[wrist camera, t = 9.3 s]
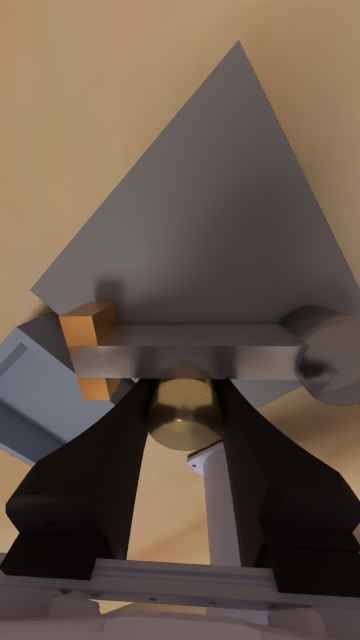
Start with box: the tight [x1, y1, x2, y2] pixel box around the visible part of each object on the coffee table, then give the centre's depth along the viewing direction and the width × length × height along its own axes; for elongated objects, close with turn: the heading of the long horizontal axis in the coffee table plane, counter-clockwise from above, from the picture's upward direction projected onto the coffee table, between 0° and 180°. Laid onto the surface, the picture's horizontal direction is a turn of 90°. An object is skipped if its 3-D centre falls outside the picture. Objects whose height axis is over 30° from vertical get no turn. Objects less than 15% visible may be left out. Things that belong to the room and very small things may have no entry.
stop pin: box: [146, 378, 224, 451], centre depth 12 cm, size 4×4×6 cm
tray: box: [0, 312, 150, 467], centre depth 15 cm, size 13×13×3 cm
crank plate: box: [30, 40, 360, 409], centre depth 12 cm, size 18×16×2 cm
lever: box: [59, 301, 360, 406], centre depth 10 cm, size 16×5×4 cm, turn 91°
